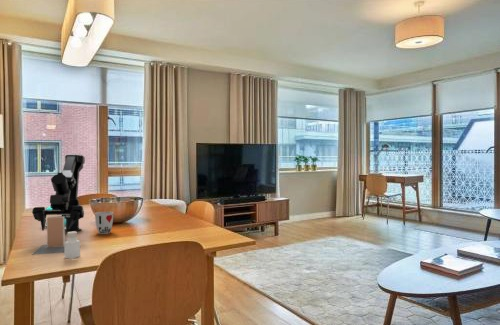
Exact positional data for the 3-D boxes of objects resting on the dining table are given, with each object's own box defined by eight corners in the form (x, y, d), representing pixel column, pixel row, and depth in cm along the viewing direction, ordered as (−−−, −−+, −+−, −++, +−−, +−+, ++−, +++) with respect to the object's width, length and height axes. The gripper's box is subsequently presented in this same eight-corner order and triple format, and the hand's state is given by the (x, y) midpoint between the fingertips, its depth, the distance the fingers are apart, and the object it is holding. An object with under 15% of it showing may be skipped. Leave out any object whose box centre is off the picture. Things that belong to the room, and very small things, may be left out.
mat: (42, 246, 145) (42, 245, 145) (74, 244, 149) (74, 243, 149) (31, 255, 132) (31, 254, 132) (66, 253, 135) (66, 252, 135)
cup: (95, 236, 163) (95, 214, 163) (94, 232, 170) (94, 212, 170) (114, 234, 167) (114, 213, 166) (112, 230, 174) (112, 210, 174)
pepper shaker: (63, 258, 128) (63, 232, 128) (72, 255, 132) (72, 230, 132) (72, 260, 127) (71, 233, 127) (81, 257, 131) (80, 231, 130)
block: (48, 246, 144) (48, 216, 144) (64, 245, 146) (64, 216, 145) (47, 247, 142) (46, 217, 142) (63, 246, 144) (63, 217, 143)
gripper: (33, 187, 145) (24, 219, 135) (82, 186, 150) (77, 216, 140) (39, 204, 153) (31, 235, 143) (85, 202, 158) (81, 232, 148)
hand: (55, 229), depth 143 cm, fingers open, 9 cm apart
